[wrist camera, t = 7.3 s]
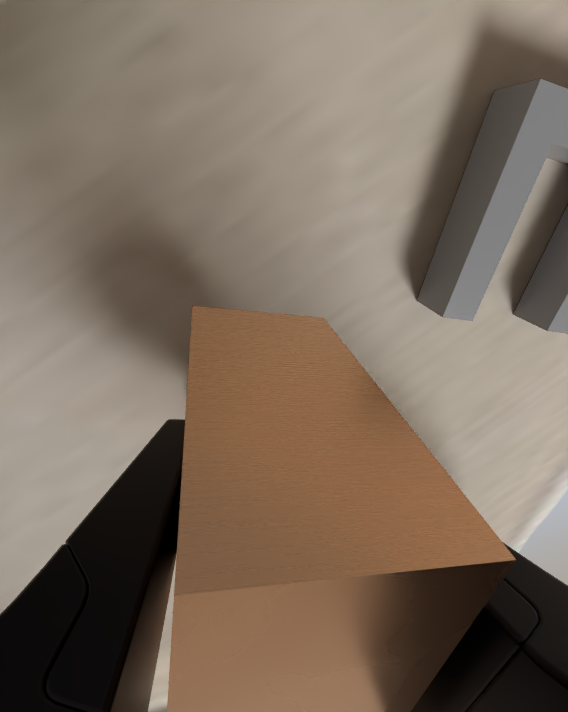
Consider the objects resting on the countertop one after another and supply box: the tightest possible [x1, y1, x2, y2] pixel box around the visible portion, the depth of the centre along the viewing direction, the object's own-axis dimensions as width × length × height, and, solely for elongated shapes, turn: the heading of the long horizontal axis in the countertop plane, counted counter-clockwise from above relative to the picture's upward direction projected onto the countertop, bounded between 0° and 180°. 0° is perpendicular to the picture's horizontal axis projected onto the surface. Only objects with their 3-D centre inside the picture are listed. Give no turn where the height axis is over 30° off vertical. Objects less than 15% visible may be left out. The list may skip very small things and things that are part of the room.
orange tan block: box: [167, 306, 516, 712], centre depth 7 cm, size 5×3×6 cm, turn 170°
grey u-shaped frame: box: [417, 79, 568, 334], centre depth 18 cm, size 10×9×2 cm
